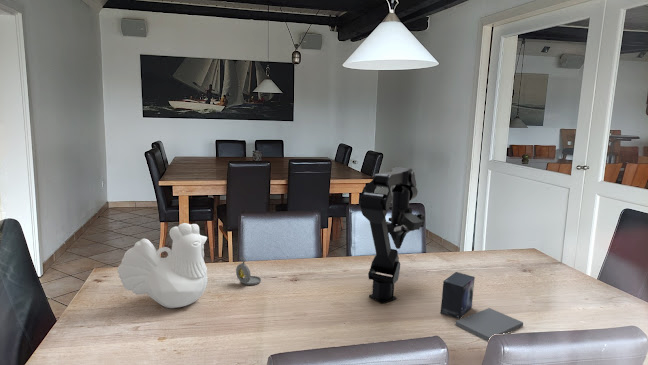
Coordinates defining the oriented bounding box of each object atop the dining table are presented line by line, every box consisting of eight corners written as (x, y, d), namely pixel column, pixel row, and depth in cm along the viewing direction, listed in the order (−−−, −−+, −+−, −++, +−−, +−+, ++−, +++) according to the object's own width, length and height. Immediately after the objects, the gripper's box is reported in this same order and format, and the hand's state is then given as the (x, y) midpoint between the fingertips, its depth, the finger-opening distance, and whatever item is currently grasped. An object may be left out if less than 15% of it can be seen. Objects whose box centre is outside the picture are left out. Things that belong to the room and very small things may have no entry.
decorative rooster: (207, 289, 144) (206, 215, 140) (209, 309, 130) (208, 228, 126) (125, 296, 137) (121, 219, 133) (117, 319, 122) (112, 233, 118)
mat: (489, 342, 115) (489, 337, 115) (455, 325, 124) (455, 321, 124) (522, 326, 125) (523, 322, 124) (488, 311, 133) (489, 307, 133)
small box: (460, 320, 127) (463, 286, 125) (439, 313, 131) (442, 280, 129) (473, 308, 136) (475, 276, 134) (452, 302, 139) (455, 271, 138)
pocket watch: (262, 279, 154) (262, 252, 152) (256, 288, 146) (256, 259, 144) (240, 277, 155) (240, 250, 153) (233, 287, 147) (232, 258, 145)
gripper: (397, 212, 136) (395, 259, 139) (437, 205, 147) (434, 250, 150) (373, 205, 145) (371, 250, 148) (412, 200, 156) (410, 242, 159)
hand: (398, 248), depth 151 cm, fingers closed
